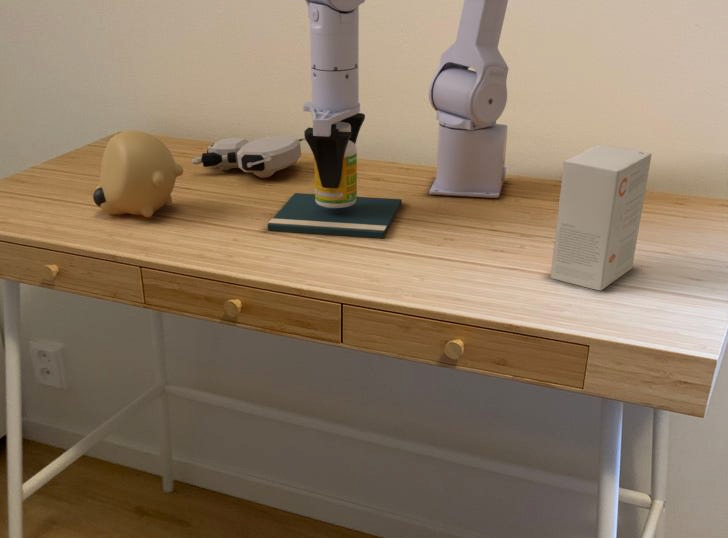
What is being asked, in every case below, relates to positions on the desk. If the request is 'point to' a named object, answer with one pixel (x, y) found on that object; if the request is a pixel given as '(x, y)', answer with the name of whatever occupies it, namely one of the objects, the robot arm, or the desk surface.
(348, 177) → the supplement bottle
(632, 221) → the small box
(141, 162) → the toy pig
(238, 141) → the robot toy
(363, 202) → the teal notebook
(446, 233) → the desk surface
